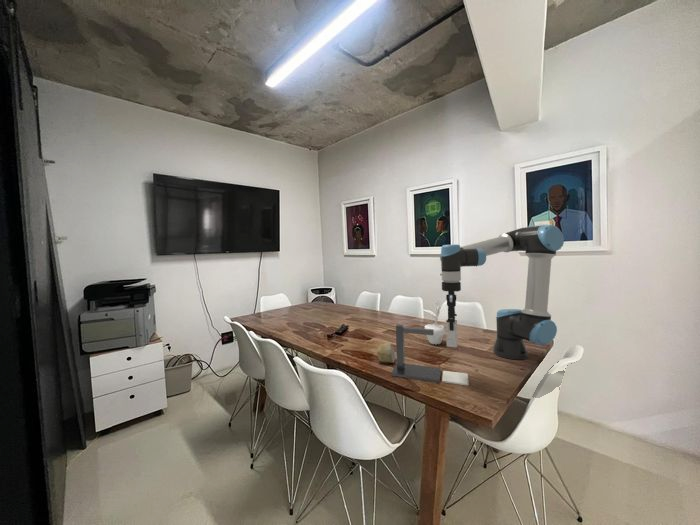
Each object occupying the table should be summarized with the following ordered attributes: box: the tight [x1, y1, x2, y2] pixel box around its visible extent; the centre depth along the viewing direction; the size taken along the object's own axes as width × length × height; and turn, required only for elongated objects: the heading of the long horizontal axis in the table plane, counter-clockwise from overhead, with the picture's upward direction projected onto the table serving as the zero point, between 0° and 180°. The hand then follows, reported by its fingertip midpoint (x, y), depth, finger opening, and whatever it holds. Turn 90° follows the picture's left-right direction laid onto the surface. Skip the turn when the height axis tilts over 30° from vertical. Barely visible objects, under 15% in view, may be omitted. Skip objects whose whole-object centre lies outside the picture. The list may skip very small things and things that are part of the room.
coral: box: [376, 342, 396, 364], centre depth 135 cm, size 10×10×10 cm
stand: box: [391, 323, 442, 383], centre depth 120 cm, size 20×12×21 cm, turn 68°
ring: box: [445, 319, 458, 348], centre depth 115 cm, size 4×9×9 cm, turn 158°
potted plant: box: [421, 301, 446, 345], centre depth 160 cm, size 13×12×25 cm
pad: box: [441, 370, 469, 386], centre depth 115 cm, size 10×10×1 cm
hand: (451, 334), depth 115 cm, fingers closed on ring, 9 cm apart
